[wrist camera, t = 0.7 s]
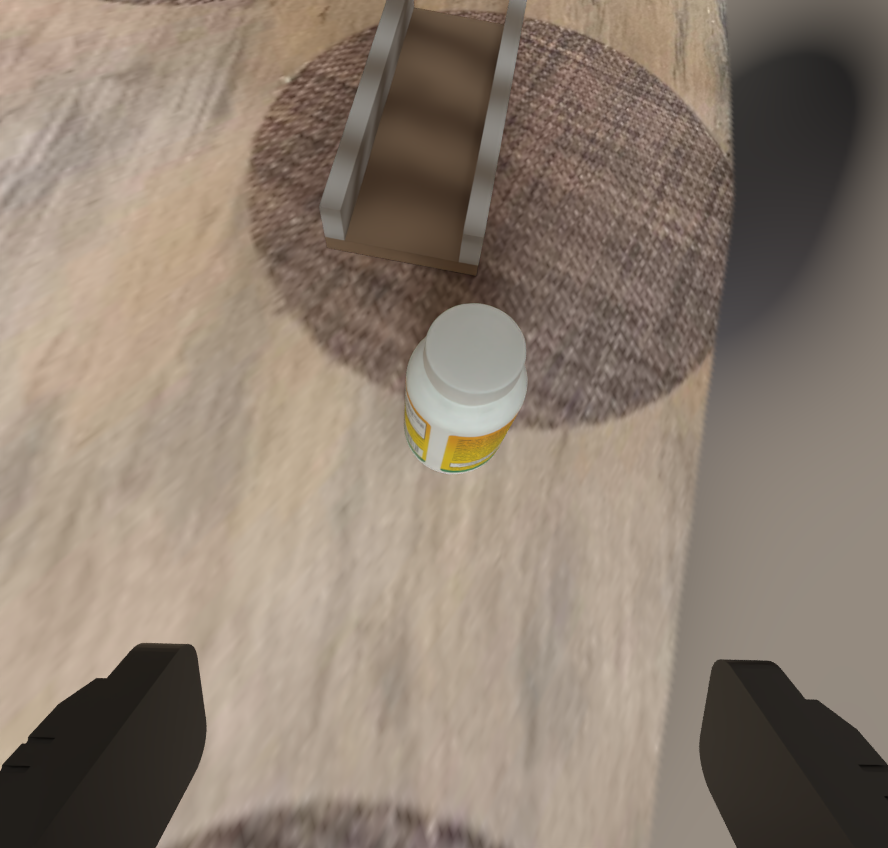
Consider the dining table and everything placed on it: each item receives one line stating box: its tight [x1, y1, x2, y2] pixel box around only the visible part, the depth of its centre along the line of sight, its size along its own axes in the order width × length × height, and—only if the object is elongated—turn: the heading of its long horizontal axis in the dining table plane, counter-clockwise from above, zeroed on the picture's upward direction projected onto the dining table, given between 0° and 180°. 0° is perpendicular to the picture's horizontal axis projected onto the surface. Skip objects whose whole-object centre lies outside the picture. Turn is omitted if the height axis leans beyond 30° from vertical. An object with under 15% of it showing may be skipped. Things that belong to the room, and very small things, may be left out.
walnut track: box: [319, 0, 527, 276], centre depth 36 cm, size 22×9×4 cm, turn 170°
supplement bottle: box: [404, 303, 527, 474], centre depth 25 cm, size 5×5×10 cm
